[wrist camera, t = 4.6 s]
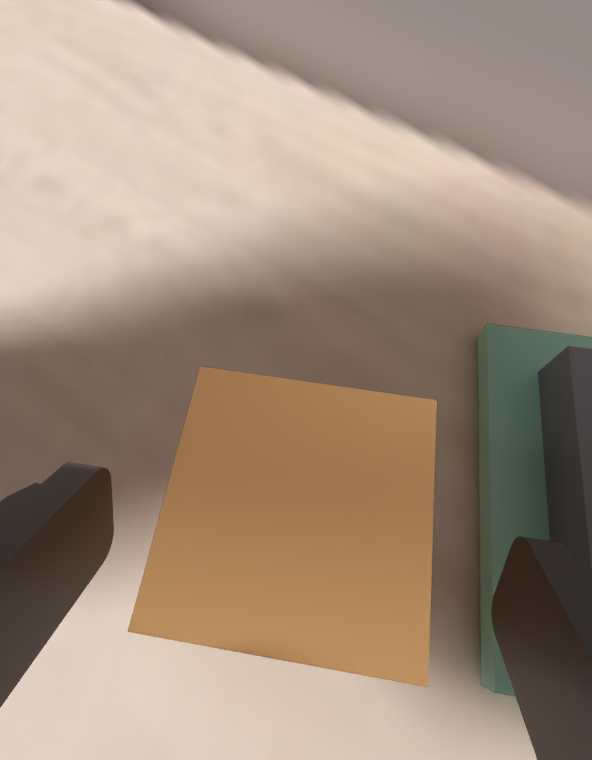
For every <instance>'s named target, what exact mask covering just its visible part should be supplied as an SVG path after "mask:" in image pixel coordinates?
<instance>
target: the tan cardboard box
mask: <svg viewBox="0 0 592 760" xmlns="http://www.w3.org/2000/svg"><path fill="white" fill-rule="evenodd" d="M436 414H437V400H433V399H426V398H419V397H412V396H405V395H398V394H391V393H384V392H377V391H370V390H363V389H356V388H349V387H342V386H335V385H328V384H321V383H314V382H307V381H300V380H293V379H286V378H279V377H272V376H265V375H258V374H251V373H244V372H237V371H230V370H223V369H216V368H209V367H202V366H200V368H199V372H198V376H197V379H196V383H195V387H194V390H193V394H192V398H191V401H190V405H189V409H188V412H187V416H186V420H185V423H184V427H183V431H182V434H181V438H180V442H179V445H178V449H177V453H176V456H175V460H174V464H173V467H172V471H171V475H170V478H169V482H168V486H167V489H166V493H165V497H164V500H163V504H162V508H161V511H160V515H159V519H158V522H157V526H156V530H155V533H154V537H153V541H152V544H151V548H150V552H149V555H148V559H147V563H146V566H145V570H144V574H143V577H142V581H141V585H140V588H139V592H138V596H137V599H136V603H135V607H134V610H133V614H132V618H131V621H130V625H129V629H128V632H133V633H138V634H143V635H149V636H154V637H160V638H165V639H170V640H176V641H181V642H187V643H192V644H197V645H203V646H208V647H214V648H219V649H224V650H230V651H235V652H241V653H246V654H251V655H257V656H262V657H268V658H273V659H278V660H284V661H289V662H295V663H300V664H305V665H311V666H316V667H322V668H327V669H332V670H338V671H343V672H349V673H354V674H360V675H365V676H370V677H376V678H381V679H387V680H392V681H397V682H403V683H408V684H414V685H419V686H424V687H428V678H429V645H430V612H431V579H432V546H433V513H434V480H435V447H436Z"/></svg>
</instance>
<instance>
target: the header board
mask: <svg viewBox="0 0 592 760" xmlns="http://www.w3.org/2000/svg"><path fill="white" fill-rule="evenodd" d="M478 430H479V524H480V619H481V685H483V686H484V687H486V688H488V689H490V690H491V691H493V692H495V693H500V694H506V695H511V696H516V695H515V692H514V689H513V687H512V684H511V681H510V678H509V675H508V672H507V669H506V666H505V663H504V660H503V657H502V654H501V651H500V648H499V646H498V643H497V640H496V637H495V634H494V630H493V625H492V615H491V609H492V600H493V596H494V593H495V590H496V587H497V584H498V581H499V579H500V576H501V573H502V570H503V567H504V565H505V562H506V559H507V556H508V553H509V550H510V548H511V545H512V543H513V541H514V540H515V538H517V537H519V536H522V537H529V538H535V539H541V540H547V541H553V542H559V543H563V544H564V545H566V546H567V548H568V549H569V550H570V552H571V553H572V555H573V556H574V558H575V559H576V561H577V563H578V564H579V566H580V567H581V569H582V570H583V572H584V573H585V575H586V576H591V577H592V337H586V336H579V335H571V334H563V333H556V332H548V331H540V330H532V329H525V328H517V327H509V326H502V325H494V324H486V326H485V327H484V328H483V330H482V331H481V332H480V334H479V335H478Z"/></svg>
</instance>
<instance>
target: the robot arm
mask: <svg viewBox="0 0 592 760" xmlns="http://www.w3.org/2000/svg"><path fill="white" fill-rule="evenodd" d="M113 532H114V526H113V507H112V488H111V475H110V472H109V471H108V469H106V468H101V467H95V466H89V465H83V464H76V463H66V464H64V465H63V466H62V467H60V468H59V469H58V470H57V471H56V472H55V473H54V474H52V475H51V476H50V477H49V478H48V479H47V480H46V481H44V482H43V483H42V484H37V483H35V484H33V485H31V486H28V487H26V488H24V489H22V490H20V491H18V492H16V493H14V494H12V495H10V496H8V497H6V498H5V499H3V500H2V501H1V502H0V707H1V706H2V705H3V703H4V702H5V700H6V699H7V698H8V696H9V695H10V693H11V692H12V690H13V689H14V688H15V686H16V685H17V683H18V682H19V681H20V679H21V678H22V676H23V675H24V674H25V672H26V671H27V669H28V668H29V667H30V665H31V664H32V662H33V661H34V660H35V658H36V657H37V655H38V654H39V652H40V651H41V650H42V648H43V647H44V645H45V644H46V643H47V641H48V640H49V638H50V637H51V636H52V634H53V633H54V631H55V630H56V629H57V627H58V626H59V624H60V623H61V622H62V620H63V619H64V617H65V616H66V614H67V613H68V612H69V610H70V609H71V607H72V606H73V605H74V603H75V602H76V600H77V599H78V598H79V596H80V595H81V593H82V592H83V591H84V589H85V588H86V586H87V585H88V584H89V582H90V581H91V579H92V578H93V576H94V575H95V574H96V572H97V571H98V569H99V568H100V567H101V565H102V564H103V562H104V561H105V559H106V557H107V555H108V553H109V550H110V547H111V544H112V540H113ZM491 615H492V625H493V630H494V634H495V637H496V640H497V643H498V646H499V648H500V651H501V654H502V657H503V660H504V663H505V666H506V669H507V672H508V675H509V678H510V681H511V684H512V687H513V689H514V692H515V695H516V698H517V701H518V704H519V707H520V710H521V713H522V716H523V719H524V722H525V725H526V728H527V730H528V733H529V736H530V739H531V742H532V745H533V748H534V751H535V754H536V757H537V760H592V577H591V576H586V575H585V573H584V572H583V570H582V569H581V567H580V566H579V564H578V563H577V561H576V559H575V558H574V556H573V555H572V553H571V552H570V550H569V549H568V548H567V546H566V545H564V544H563V543H559V542H553V541H547V540H541V539H535V538H529V537H522V536H519V537H517V538H515V540H514V541H513V543H512V545H511V548H510V550H509V553H508V556H507V559H506V562H505V565H504V567H503V570H502V573H501V576H500V579H499V581H498V584H497V587H496V590H495V593H494V596H493V600H492V609H491Z"/></svg>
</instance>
